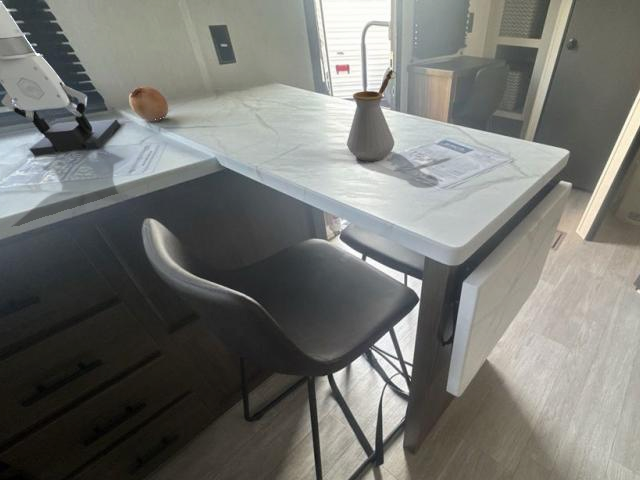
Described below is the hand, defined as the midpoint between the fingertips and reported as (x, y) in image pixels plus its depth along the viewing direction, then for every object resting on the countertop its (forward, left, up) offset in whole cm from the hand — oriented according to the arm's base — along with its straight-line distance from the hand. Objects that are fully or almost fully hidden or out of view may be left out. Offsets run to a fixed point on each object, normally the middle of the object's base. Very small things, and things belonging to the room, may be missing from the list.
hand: (70, 134), depth 81 cm
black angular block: (0, 0, -3) cm, 3 cm away
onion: (+16, +17, -3) cm, 23 cm away
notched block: (-1, +6, -3) cm, 6 cm away
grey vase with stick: (+75, -28, -3) cm, 80 cm away
